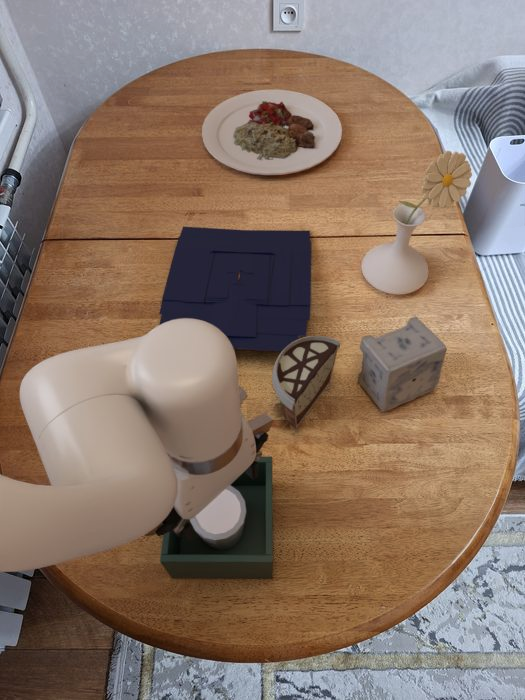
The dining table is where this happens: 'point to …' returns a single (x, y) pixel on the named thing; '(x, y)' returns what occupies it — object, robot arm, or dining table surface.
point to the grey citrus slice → (303, 375)
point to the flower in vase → (398, 257)
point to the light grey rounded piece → (222, 520)
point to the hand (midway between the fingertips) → (215, 498)
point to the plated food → (271, 132)
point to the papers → (242, 284)
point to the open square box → (244, 557)
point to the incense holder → (401, 364)
